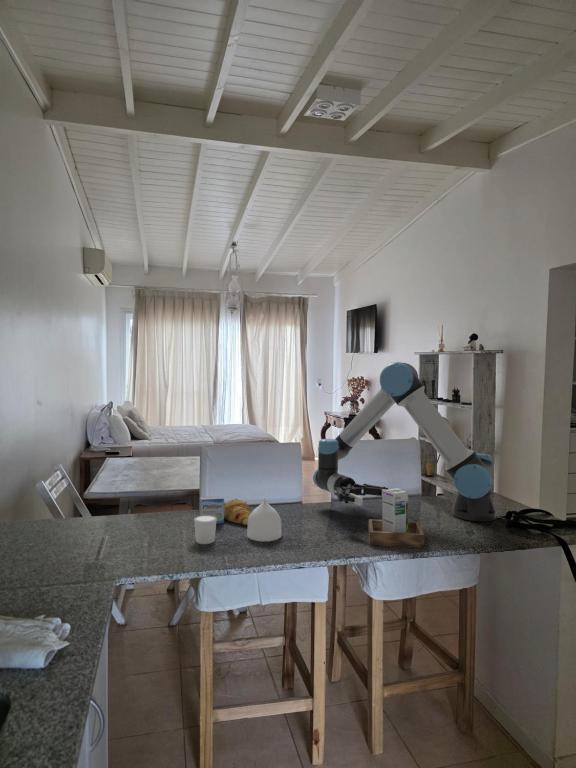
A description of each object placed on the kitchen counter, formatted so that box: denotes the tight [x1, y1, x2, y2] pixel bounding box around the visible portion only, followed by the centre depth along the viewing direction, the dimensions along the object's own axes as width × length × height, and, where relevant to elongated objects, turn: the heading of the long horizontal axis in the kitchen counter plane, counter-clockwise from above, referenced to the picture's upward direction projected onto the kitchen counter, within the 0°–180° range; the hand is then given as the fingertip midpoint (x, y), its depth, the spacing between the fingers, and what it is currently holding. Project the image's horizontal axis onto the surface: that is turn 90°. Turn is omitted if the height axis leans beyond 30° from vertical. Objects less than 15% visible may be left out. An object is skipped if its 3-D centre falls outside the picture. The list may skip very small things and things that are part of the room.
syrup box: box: [382, 487, 409, 533], centre depth 157 cm, size 6×6×14 cm
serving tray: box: [367, 518, 425, 549], centre depth 157 cm, size 16×13×4 cm
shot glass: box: [193, 515, 217, 545], centre depth 154 cm, size 7×7×7 cm
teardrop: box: [246, 498, 283, 542], centre depth 160 cm, size 11×11×12 cm
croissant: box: [224, 498, 253, 526], centre depth 177 cm, size 21×10×8 cm, turn 31°
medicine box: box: [199, 495, 225, 525], centre depth 172 cm, size 8×4×9 cm, turn 105°
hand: (378, 499), depth 164 cm, fingers open, 13 cm apart
